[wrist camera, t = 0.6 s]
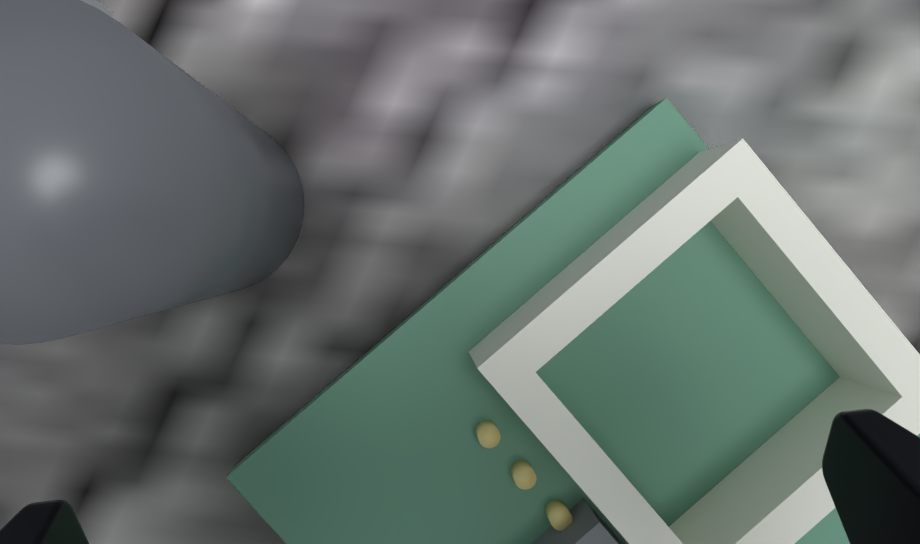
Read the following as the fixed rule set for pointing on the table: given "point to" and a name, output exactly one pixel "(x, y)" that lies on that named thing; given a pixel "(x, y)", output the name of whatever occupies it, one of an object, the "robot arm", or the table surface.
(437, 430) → the header board
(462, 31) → the table surface
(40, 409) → the table surface
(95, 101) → the plug
